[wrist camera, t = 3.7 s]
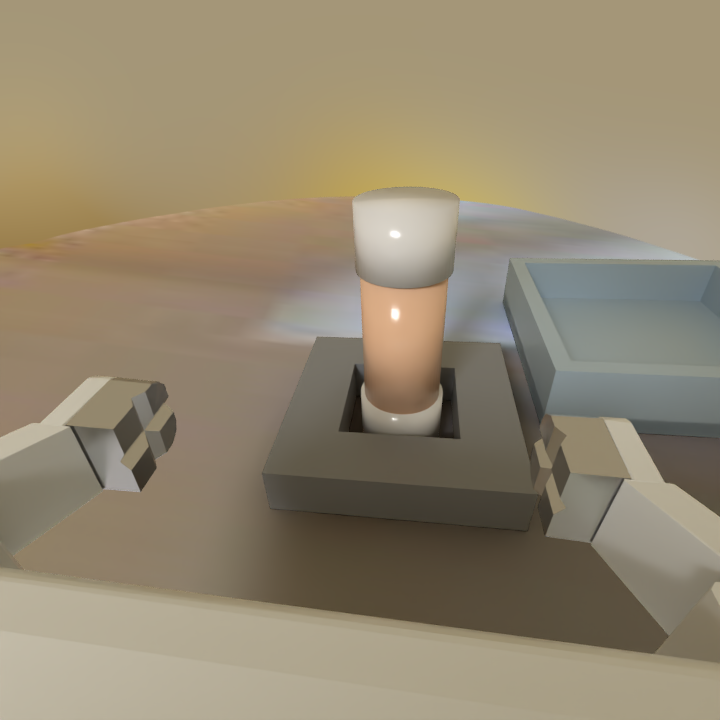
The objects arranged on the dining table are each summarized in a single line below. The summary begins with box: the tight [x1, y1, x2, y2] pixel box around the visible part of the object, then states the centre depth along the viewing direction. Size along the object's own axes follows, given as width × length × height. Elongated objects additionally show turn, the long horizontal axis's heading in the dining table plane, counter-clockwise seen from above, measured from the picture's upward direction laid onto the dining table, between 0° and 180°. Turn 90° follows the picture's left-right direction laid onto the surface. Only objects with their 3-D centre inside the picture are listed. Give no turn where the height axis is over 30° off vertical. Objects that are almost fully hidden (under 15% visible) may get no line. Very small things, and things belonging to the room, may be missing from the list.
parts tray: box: [503, 258, 720, 438], centre depth 30 cm, size 16×16×4 cm
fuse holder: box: [262, 337, 538, 531], centre depth 25 cm, size 12×12×2 cm
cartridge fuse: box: [352, 187, 460, 438], centre depth 22 cm, size 4×4×13 cm
